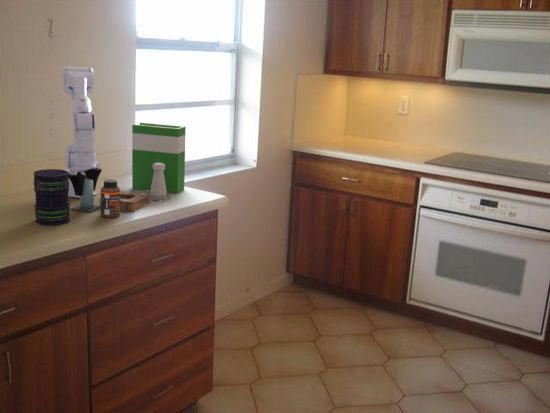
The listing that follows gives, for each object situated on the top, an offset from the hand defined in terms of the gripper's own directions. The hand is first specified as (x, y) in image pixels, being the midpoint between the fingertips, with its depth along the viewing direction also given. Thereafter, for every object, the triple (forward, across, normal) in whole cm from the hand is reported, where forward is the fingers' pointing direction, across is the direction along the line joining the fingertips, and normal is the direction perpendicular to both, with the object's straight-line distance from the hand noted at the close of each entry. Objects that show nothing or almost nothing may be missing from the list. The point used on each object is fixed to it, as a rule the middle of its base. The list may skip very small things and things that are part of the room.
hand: (85, 192), depth 198 cm
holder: (+5, +10, -9) cm, 14 cm away
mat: (+5, 0, 0) cm, 5 cm away
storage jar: (+6, -16, +2) cm, 17 cm away
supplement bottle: (+6, -3, -11) cm, 12 cm away
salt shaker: (+6, +22, -16) cm, 27 cm away
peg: (+5, 0, 0) cm, 5 cm away
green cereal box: (+6, +36, -9) cm, 37 cm away
